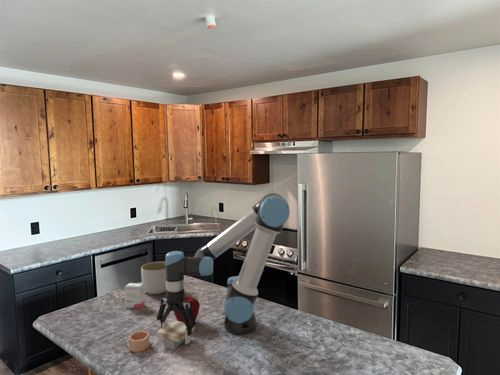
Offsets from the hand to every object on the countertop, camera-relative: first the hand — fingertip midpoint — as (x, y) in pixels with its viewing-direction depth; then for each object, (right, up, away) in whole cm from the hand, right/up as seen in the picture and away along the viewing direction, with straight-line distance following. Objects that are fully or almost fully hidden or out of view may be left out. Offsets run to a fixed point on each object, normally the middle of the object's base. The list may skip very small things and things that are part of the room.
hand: (176, 339), depth 142 cm
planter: (-23, +3, +55) cm, 60 cm away
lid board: (0, +3, 0) cm, 3 cm away
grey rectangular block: (0, -1, 0) cm, 1 cm away
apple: (+2, 0, +16) cm, 16 cm away
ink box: (-29, +1, +35) cm, 46 cm away
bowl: (-15, -1, -3) cm, 15 cm away
